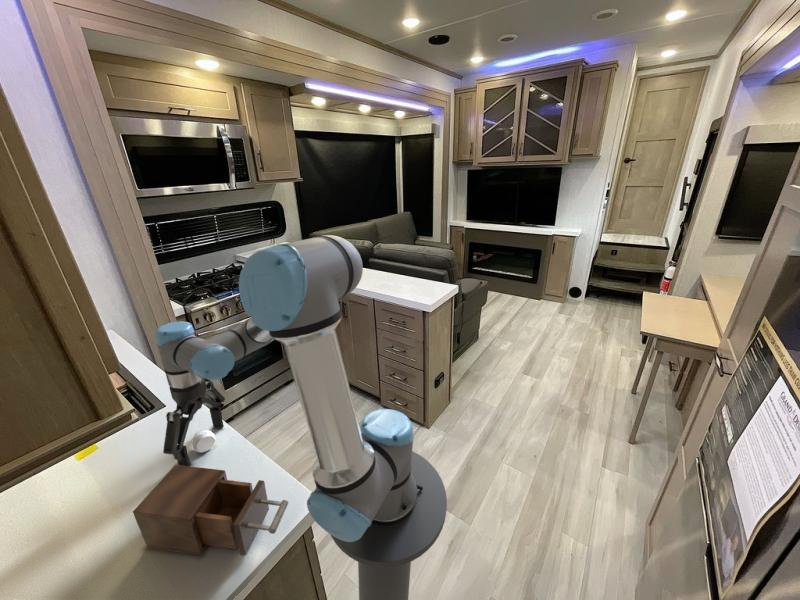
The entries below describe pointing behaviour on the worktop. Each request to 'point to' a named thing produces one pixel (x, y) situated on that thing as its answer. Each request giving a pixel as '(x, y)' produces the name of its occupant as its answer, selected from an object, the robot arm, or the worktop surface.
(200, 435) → the white rounded lump
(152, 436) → the worktop surface
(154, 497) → the cabinet
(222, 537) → the drawer
